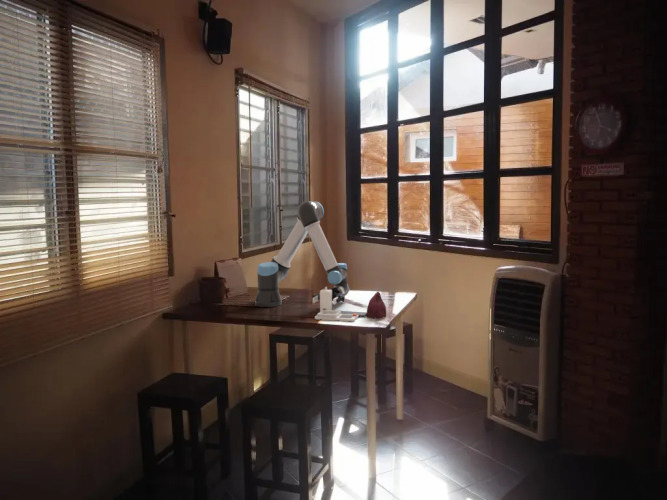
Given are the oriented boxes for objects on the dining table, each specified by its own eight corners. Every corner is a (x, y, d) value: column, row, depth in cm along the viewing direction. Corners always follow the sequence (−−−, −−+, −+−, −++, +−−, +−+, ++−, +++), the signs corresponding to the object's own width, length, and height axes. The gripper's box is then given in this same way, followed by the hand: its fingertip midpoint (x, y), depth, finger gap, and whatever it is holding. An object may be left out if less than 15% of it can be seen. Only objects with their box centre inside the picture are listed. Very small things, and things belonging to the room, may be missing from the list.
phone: (364, 317, 258) (364, 315, 258) (338, 315, 262) (338, 313, 262) (368, 314, 264) (368, 312, 264) (342, 312, 269) (342, 310, 268)
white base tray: (314, 319, 255) (314, 313, 254) (321, 314, 264) (321, 309, 264) (353, 321, 249) (353, 316, 248) (358, 317, 258) (358, 312, 258)
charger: (319, 313, 267) (319, 287, 265) (323, 311, 272) (322, 285, 270) (329, 314, 265) (328, 288, 264) (332, 312, 270) (331, 286, 269)
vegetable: (387, 324, 257) (392, 297, 252) (366, 322, 256) (371, 295, 251) (384, 314, 267) (389, 288, 262) (364, 312, 266) (369, 286, 261)
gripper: (355, 301, 282) (344, 309, 261) (316, 299, 289) (302, 307, 268) (355, 287, 281) (344, 295, 260) (316, 285, 288) (302, 292, 267)
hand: (323, 301), depth 264 cm, fingers open, 10 cm apart
